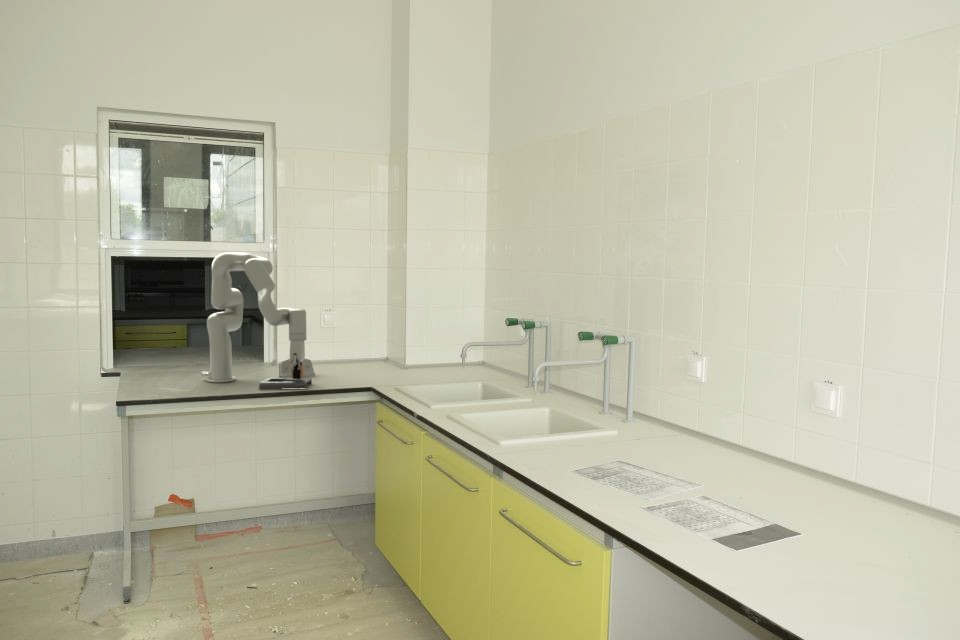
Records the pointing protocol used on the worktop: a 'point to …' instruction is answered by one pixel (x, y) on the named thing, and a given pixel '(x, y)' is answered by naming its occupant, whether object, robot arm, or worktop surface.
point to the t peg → (302, 372)
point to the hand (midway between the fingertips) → (298, 377)
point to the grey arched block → (286, 365)
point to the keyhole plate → (284, 383)
